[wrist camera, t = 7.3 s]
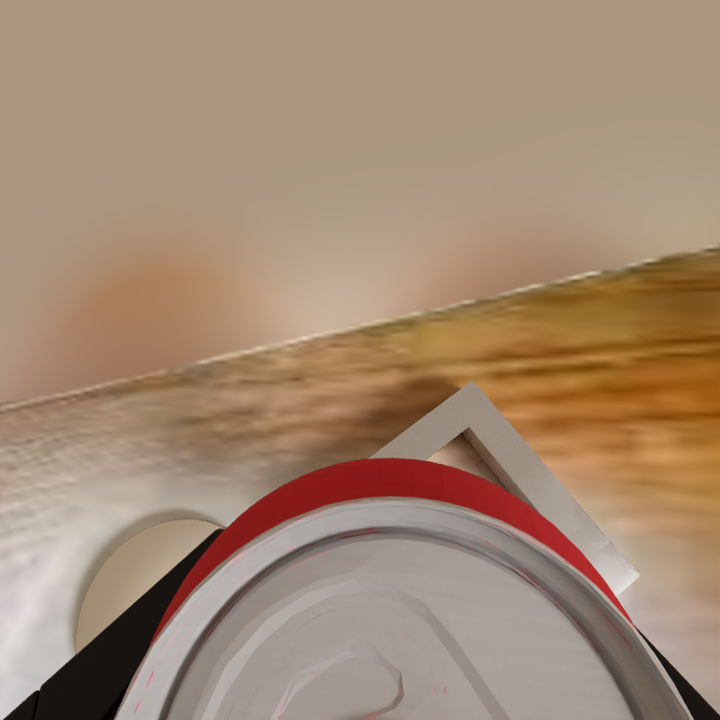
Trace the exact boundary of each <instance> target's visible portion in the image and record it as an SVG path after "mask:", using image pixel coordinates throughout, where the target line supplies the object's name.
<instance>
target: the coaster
mask: <svg viewBox="0 0 720 720" xmlns="http://www.w3.org/2000/svg"><path fill="white" fill-rule="evenodd" d="M219 528H224V527H222V526H219V525H217V524H215V523H211V522H207V521H203V520H195V519H185V520H174V521H169V522H163V523H160V524H157V525H154V526H151V527H149V528H147V529H145V530H143V531H141V532H139V533H138V534H136V535H134V536H133V537H131V538H130V539H128V540H127V541H126V542H125V543H123V544H122V545H121V546H120V547H119V548H118V549H117V550H116V551H115V552H114V553H113V554H112V555H111V556H110V557H109V558H108V559H107V561H106V562H105V563H104V564H103V566H102V567H101V568H100V570H99V572H98V573H97V575H96V576H95V578H94V580H93V581H92V583H91V585H90V587H89V589H88V591H87V594H86V597H85V599H84V602H83V604H82V608H81V612H80V615H79V619H78V626H77V632H76V654H77V653H78V652H80V651H81V650H82V649H83V648H84V647H85V646H86V645H87V644H89V643H90V642H91V641H92V640H93V639H94V638H95V637H96V636H97V635H99V634H100V633H101V632H102V631H103V630H104V629H105V628H106V627H108V626H109V625H110V624H111V623H112V622H113V621H114V620H115V619H116V618H118V617H119V616H120V615H121V614H122V613H123V612H124V611H125V610H127V609H128V608H129V607H130V606H131V605H132V604H133V603H134V602H135V601H137V600H138V599H139V598H140V597H141V596H142V595H143V594H144V593H146V592H147V591H148V590H149V589H150V588H151V587H152V586H153V585H154V584H156V583H157V582H158V581H159V580H160V579H161V578H162V577H163V576H165V575H166V574H167V573H168V572H169V571H170V570H171V569H172V568H173V567H175V566H176V565H177V564H178V563H179V562H180V561H181V560H182V559H184V558H185V557H186V556H187V555H188V554H189V553H190V552H191V551H192V550H194V549H195V548H196V547H197V546H198V545H199V544H200V543H201V542H203V541H204V540H205V539H206V538H207V537H208V536H209V535H210V534H211V533H213V532H214V531H215V530H217V529H219ZM225 529H226V528H225Z"/></svg>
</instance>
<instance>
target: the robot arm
mask: <svg viewBox="0 0 720 720" xmlns="http://www.w3.org/2000/svg"><path fill="white" fill-rule="evenodd" d="M224 530H225V528H219V529H217V530H215V531H214V532H213V533H211V534H210V535H209V536H208V537H207V538H206V539H205V540H204V541H203V542H201V543H200V544H199V545H198V546H197V547H196V548H195V549H194V550H192V551H191V552H190V553H189V554H188V555H187V556H186V557H185V558H184V559H182V560H181V561H180V562H179V563H178V564H177V565H176V566H175V567H173V568H172V569H171V570H170V571H169V572H168V573H167V574H166V575H165V576H163V577H162V578H161V579H160V580H159V581H158V582H157V583H156V584H154V585H153V586H152V587H151V588H150V589H149V590H148V591H147V592H146V593H144V594H143V595H142V596H141V597H140V598H139V599H138V600H137V601H135V602H134V603H133V604H132V605H131V606H130V607H129V608H128V609H127V610H125V611H124V612H123V613H122V614H121V615H120V616H119V617H118V618H116V619H115V620H114V621H113V622H112V623H111V624H110V625H109V626H108V627H106V628H105V629H104V630H103V631H102V632H101V633H100V634H99V635H97V636H96V637H95V638H94V639H93V640H92V641H91V642H90V643H89V644H87V645H86V646H85V647H84V648H83V649H82V650H81V651H80V652H78V653H77V654H76V655H75V656H74V657H73V658H72V659H71V660H70V661H68V662H67V663H66V664H65V665H64V666H63V667H62V668H61V669H59V670H58V671H57V672H56V673H55V674H54V675H53V676H52V677H50V678H49V679H48V680H47V681H46V682H45V683H44V684H43V685H42V686H41V688H40V691H39V690H37V691H35V692H33V693H32V694H31V695H30V696H29V697H28V698H27V699H26V700H25V701H23V702H22V703H21V704H20V705H19V706H18V707H17V708H16V709H14V710H13V711H12V712H11V713H10V714H9V715H8V716H7V717H5V718H4V719H3V720H114V718H115V716H116V714H117V711H118V709H119V707H120V705H121V702H122V700H123V698H124V696H125V694H126V691H127V689H128V687H129V685H130V682H131V680H132V678H133V676H134V675H135V673H136V671H137V669H138V667H139V666H140V664H141V662H142V660H143V659H144V657H145V655H146V653H147V652H148V649H149V646H150V644H151V641H152V639H153V636H154V634H155V632H156V630H157V628H158V626H159V624H160V622H161V620H162V618H163V616H164V614H165V612H166V610H167V608H168V606H169V605H170V603H171V601H172V600H173V598H174V596H175V595H176V593H177V591H178V590H179V588H180V586H181V584H182V583H183V581H184V579H185V578H186V576H187V575H188V574H189V572H190V571H191V570H192V568H193V567H194V566H195V565H196V563H197V562H198V561H199V559H200V558H201V557H202V555H203V554H204V553H205V552H206V550H207V549H208V548H209V547H210V546H211V544H212V543H213V542H214V541H215V540H216V538H217V537H218V536H219V535H220V534H221V533H222V532H223V531H224ZM634 627H635V626H634ZM635 628H636V627H635ZM636 630H637V631H638V632H639V634H640V635H641V636H642V638H643V639H644V640H645V642H646V643H647V644H648V646H649V647H650V648H651V649H652V651H653V652H654V653H655V655H656V657H657V658H658V660H659V661H660V663H661V664H662V666H663V667H664V669H665V670H666V672H667V674H668V675H669V677H670V678H671V680H672V681H673V683H674V685H675V686H676V688H677V690H678V692H679V694H680V696H681V697H682V699H683V701H684V703H685V705H686V707H687V708H688V710H689V712H690V714H691V716H692V718H693V720H720V715H719V714H718V713H717V712H716V711H715V710H714V709H713V708H712V707H711V706H710V705H709V704H708V703H707V702H706V701H705V699H704V698H703V697H702V696H701V695H700V694H699V693H698V692H697V691H696V690H695V689H694V688H693V687H692V686H691V685H690V684H689V683H688V682H687V680H686V679H685V678H684V677H683V676H682V675H681V674H680V673H679V672H678V671H677V670H676V669H675V668H674V667H673V666H672V665H671V664H670V663H669V661H668V660H667V659H666V658H665V657H664V656H663V655H662V654H661V653H660V652H659V651H658V650H657V649H656V648H655V647H654V646H653V645H652V644H651V642H650V641H649V640H648V639H647V638H646V637H645V636H644V635H643V634H642V633H641V632H640V631H639V630H638V629H637V628H636Z"/></svg>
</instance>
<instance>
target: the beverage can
mask: <svg viewBox="0 0 720 720" xmlns="http://www.w3.org/2000/svg"><path fill="white" fill-rule="evenodd" d="M114 720H693V718H692V716H691V714H690V712H689V710H688V708H687V707H686V705H685V703H684V701H683V699H682V697H681V696H680V694H679V692H678V690H677V688H676V686H675V685H674V683H673V681H672V680H671V678H670V677H669V675H668V674H667V672H666V670H665V669H664V667H663V666H662V664H661V663H660V661H659V660H658V658H657V657H656V655H655V653H654V652H653V651H652V649H651V648H650V647H649V646H648V644H647V643H646V642H645V640H644V639H643V638H642V636H641V635H640V634H639V632H638V631H637V630H636V628H635V627H634V625H633V623H632V621H631V620H630V618H629V616H628V615H627V613H626V611H625V610H624V608H623V607H622V605H621V604H620V602H619V601H618V599H617V598H616V596H615V595H614V593H613V592H612V590H611V589H610V587H609V586H608V584H607V583H606V581H605V580H604V579H603V577H602V576H601V575H600V574H599V573H598V571H597V570H596V569H595V568H594V566H593V565H592V564H591V563H590V562H589V560H588V559H587V558H586V557H585V556H584V554H583V553H582V552H581V551H580V550H579V549H578V548H577V547H576V546H575V545H574V544H573V543H572V542H571V541H570V540H569V539H568V538H567V537H566V536H565V535H564V534H563V533H562V532H561V531H560V530H559V529H558V528H557V527H556V526H555V525H554V524H552V523H551V522H550V521H549V520H547V519H546V518H545V517H544V516H542V515H541V514H540V513H538V512H537V511H536V510H535V509H533V508H532V507H531V506H530V505H528V504H526V503H525V502H523V501H522V500H520V499H519V498H517V497H516V496H514V495H513V494H511V493H509V492H507V491H506V490H504V489H502V488H501V487H499V486H497V485H495V484H493V483H491V482H489V481H487V480H485V479H482V478H480V477H478V476H476V475H474V474H471V473H468V472H465V471H462V470H460V469H457V468H454V467H450V466H446V465H442V464H438V463H434V462H429V461H423V460H417V459H405V458H371V459H361V460H355V461H350V462H344V463H339V464H335V465H332V466H329V467H325V468H322V469H319V470H316V471H313V472H311V473H308V474H305V475H303V476H301V477H299V478H297V479H295V480H293V481H291V482H289V483H287V484H285V485H283V486H281V487H279V488H278V489H276V490H275V491H273V492H271V493H270V494H268V495H267V496H265V497H263V498H262V499H261V500H259V501H258V502H256V503H255V504H254V505H252V506H251V507H250V508H248V509H247V510H246V511H245V512H244V513H243V514H241V515H240V516H239V517H238V518H237V519H236V520H235V521H234V522H233V523H232V524H231V525H230V526H229V527H227V528H226V529H225V530H224V531H223V532H222V533H221V534H220V535H219V536H218V537H217V538H216V540H215V541H214V542H213V543H212V544H211V546H210V547H209V548H208V549H207V550H206V552H205V553H204V554H203V555H202V557H201V558H200V559H199V561H198V562H197V563H196V565H195V566H194V567H193V568H192V570H191V571H190V572H189V574H188V575H187V576H186V578H185V579H184V581H183V583H182V584H181V586H180V588H179V590H178V591H177V593H176V595H175V596H174V598H173V600H172V601H171V603H170V605H169V606H168V608H167V610H166V612H165V614H164V616H163V618H162V620H161V622H160V624H159V626H158V628H157V630H156V632H155V634H154V636H153V639H152V641H151V644H150V646H149V649H148V652H147V653H146V655H145V657H144V659H143V660H142V662H141V664H140V666H139V667H138V669H137V671H136V673H135V675H134V676H133V678H132V680H131V682H130V685H129V687H128V689H127V691H126V694H125V696H124V698H123V700H122V702H121V705H120V707H119V709H118V711H117V714H116V716H115V718H114Z"/></svg>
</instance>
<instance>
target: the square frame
mask: <svg viewBox="0 0 720 720" xmlns="http://www.w3.org/2000/svg"><path fill="white" fill-rule="evenodd" d="M460 433H462V434H463V436H464V437H465V438H466V439H467V441H468V442H469V443H470V444H471V446H472V447H473V448H474V449H475V450H476V452H477V453H478V454H479V455H480V457H481V458H482V459H483V460H484V462H485V463H486V464H487V465H488V467H489V468H490V469H491V470H492V471H493V473H494V474H495V475H496V476H497V478H498V479H499V480H500V481H501V483H502V484H503V485H504V486H505V488H506V489H507V490H508V491H509V492H510V493H511V494H513V495H514V496H516V497H517V498H519V499H520V500H522V501H523V502H525V503H526V504H528V505H530V506H531V507H532V508H533V509H535V510H536V511H537V512H538V513H540V514H541V515H542V516H544V517H545V518H546V519H547V520H549V521H550V522H551V523H552V524H554V525H555V526H556V527H557V528H558V529H559V530H560V531H561V532H562V533H563V534H564V535H565V536H566V537H567V538H568V539H569V540H570V541H571V542H572V543H573V544H574V545H575V546H576V547H577V548H578V549H579V550H580V551H581V552H582V553H583V554H584V556H585V557H586V558H587V559H588V560H589V562H590V563H591V564H592V565H593V566H594V568H595V569H596V570H597V571H598V573H599V574H600V575H601V576H602V577H603V579H604V580H605V581H606V583H607V584H608V586H609V587H610V589H611V590H612V592H613V593H614V595H615V596H616V597H617V596H618V595H620V594H621V593H622V592H623V591H624V590H625V589H626V588H627V587H628V586H629V585H630V584H631V583H632V582H634V581H635V580H636V579H637V578H638V577H639V576H640V575H639V574H638V573H637V571H636V570H635V569H634V568H633V567H632V566H631V564H630V563H629V562H628V561H627V560H626V559H625V557H624V556H623V555H622V554H621V553H620V552H619V550H618V549H617V548H616V547H615V546H614V545H613V543H612V542H611V541H610V540H609V539H608V538H607V536H606V535H605V534H604V533H603V532H602V531H601V529H600V528H599V527H598V526H597V525H596V524H595V522H594V521H593V520H592V519H591V518H590V517H589V515H588V514H587V513H586V512H585V511H584V510H583V508H582V507H581V506H580V505H579V504H578V503H577V501H576V500H575V499H574V498H573V497H572V496H571V494H570V493H569V492H568V491H567V490H566V489H565V487H564V486H563V485H562V484H561V483H560V482H559V480H558V479H557V478H556V477H555V476H554V475H553V473H552V472H551V471H550V470H549V469H548V468H547V466H546V465H545V464H544V463H543V462H542V461H541V459H540V458H539V457H538V456H537V455H536V454H535V452H534V451H533V450H532V449H531V448H530V447H529V445H528V444H527V443H526V442H525V441H524V440H523V438H522V437H521V436H520V435H519V434H518V433H517V431H516V430H515V429H514V428H513V427H512V426H511V424H510V423H509V422H508V421H507V420H506V419H505V417H504V416H503V415H502V414H501V413H500V412H499V410H498V409H497V408H496V407H495V406H494V405H493V403H492V402H491V401H490V400H489V399H488V398H487V396H486V395H485V394H484V393H483V392H482V391H481V389H480V388H479V387H478V386H477V385H476V384H475V382H474V381H473V380H472V381H471V382H469V383H468V384H467V385H465V386H464V387H463V388H461V389H460V390H459V391H457V392H456V393H455V394H453V395H452V396H451V397H449V398H448V399H447V400H445V401H444V402H443V403H441V404H440V405H439V406H437V407H436V408H435V409H433V410H432V411H431V412H429V413H428V414H427V415H425V416H424V417H423V418H421V419H420V420H419V421H417V422H416V423H415V424H413V425H412V426H411V427H409V428H408V429H407V430H405V431H404V432H403V433H401V434H400V435H399V436H397V437H396V438H395V439H393V440H392V441H391V442H389V443H388V444H387V445H385V446H384V447H383V448H381V449H380V450H379V451H377V452H376V453H375V454H373V455H372V456H371V457H369V458H368V459H371V458H405V459H417V460H423V461H425V460H426V459H428V458H429V457H430V456H432V455H433V454H434V453H435V452H437V451H438V450H439V449H441V448H442V447H443V446H445V445H446V444H447V443H448V442H450V441H451V440H452V439H454V438H455V437H456V436H458V435H459V434H460Z"/></svg>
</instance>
